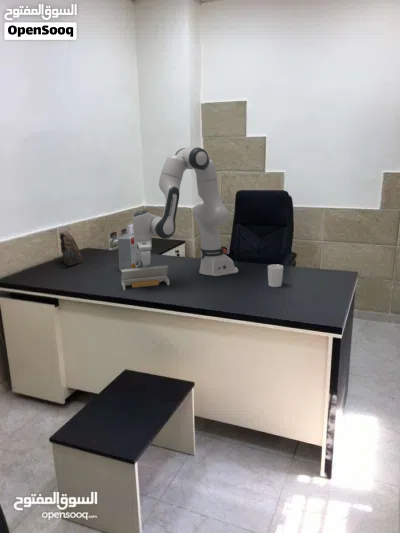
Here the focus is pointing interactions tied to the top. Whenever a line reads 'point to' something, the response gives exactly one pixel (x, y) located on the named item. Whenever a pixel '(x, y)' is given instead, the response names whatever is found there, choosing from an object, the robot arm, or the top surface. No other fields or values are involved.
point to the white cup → (275, 275)
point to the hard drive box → (128, 252)
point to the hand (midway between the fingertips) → (145, 269)
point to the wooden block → (145, 283)
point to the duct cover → (144, 272)
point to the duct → (160, 279)
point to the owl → (70, 249)
